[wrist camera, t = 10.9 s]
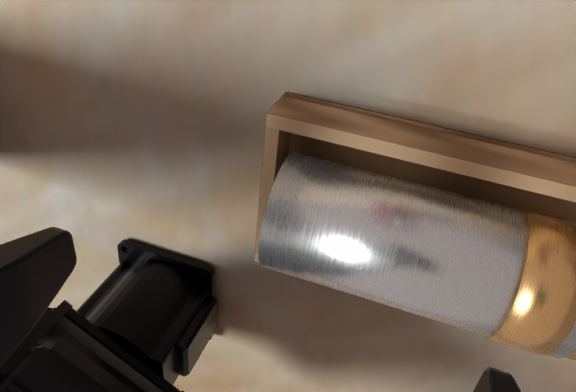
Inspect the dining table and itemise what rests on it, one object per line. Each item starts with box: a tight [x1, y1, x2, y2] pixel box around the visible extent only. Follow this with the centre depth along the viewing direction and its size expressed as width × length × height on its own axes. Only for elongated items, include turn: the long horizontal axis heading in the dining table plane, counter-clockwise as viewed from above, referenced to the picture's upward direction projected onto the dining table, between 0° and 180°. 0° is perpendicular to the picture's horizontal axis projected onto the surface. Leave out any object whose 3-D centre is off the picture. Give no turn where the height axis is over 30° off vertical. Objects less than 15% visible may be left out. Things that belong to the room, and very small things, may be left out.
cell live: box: [258, 152, 576, 359], centre depth 20 cm, size 13×5×5 cm, turn 85°
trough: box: [254, 92, 576, 360], centre depth 21 cm, size 15×8×2 cm, turn 85°
